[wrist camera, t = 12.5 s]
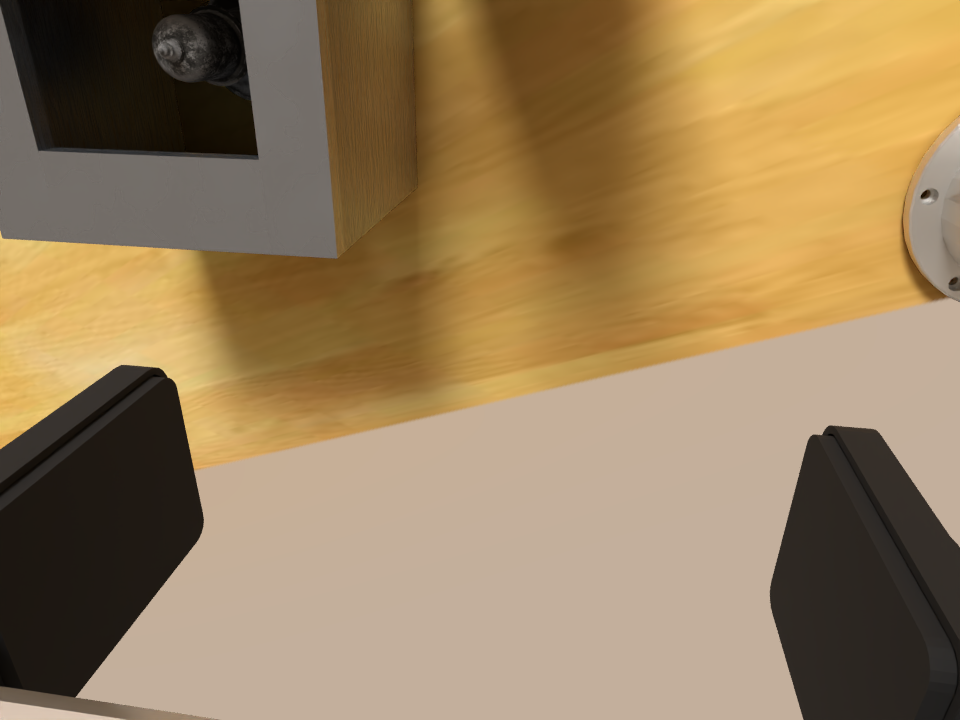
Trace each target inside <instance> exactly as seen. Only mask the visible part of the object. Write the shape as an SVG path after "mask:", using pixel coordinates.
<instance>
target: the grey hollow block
mask: <svg viewBox="0 0 960 720" xmlns="http://www.w3.org/2000/svg"><path fill="white" fill-rule="evenodd" d="M239 6H240V14H241V22H242V30H243V38H244V46H245V54H246V62H247V70H248V78H249V85H250V93H251V101H252V109H253V117H254V125H255V133H256V141H257V149H258V155H237V154H212V153H187V152H186V150H185V144H184V139H183V133H182V127H181V121H180V115H179V109H178V104H177V98H176V92H175V86H174V80H173V77H171V76H170V75H169V74H168V73H167V72H165V71H164V70H163V68H162V67H161V66H160V64H159V63H158V61H157V59H156V57H155V54H154V51H153V47H152V36H153V31H154V29H155V27H156V25H157V24H158V23H159V22H160V21H161V20H162V19H163V16H162V10H161V4H160V0H0V231H1V234H2V238H4V239H21V240H37V241H54V242H70V243H87V244H104V245H120V246H137V247H153V248H170V249H187V250H203V251H220V252H237V253H253V254H270V255H286V256H303V257H320V258H336V259H337V258H339V257H340V256H341V255H342V254H343V253H344V252H345V251H346V250H348V249H349V248H350V247H351V246H352V245H353V244H354V243H355V242H357V241H358V240H359V239H360V238H361V237H362V236H363V235H364V234H366V233H367V232H368V231H369V230H370V229H371V228H372V227H373V226H375V225H376V224H377V223H378V222H379V221H380V220H381V219H382V218H384V217H385V216H386V215H387V214H388V213H389V212H390V211H392V210H393V209H394V208H395V207H396V206H397V205H398V204H399V203H401V202H402V201H403V200H404V199H405V198H406V197H407V196H408V195H410V194H411V193H412V192H413V191H414V190H415V189H416V188H417V156H416V122H415V87H414V52H413V18H412V0H239Z"/></svg>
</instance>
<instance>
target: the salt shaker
mask: <svg viewBox="0 0 960 720" xmlns="http://www.w3.org/2000/svg"><path fill="white" fill-rule="evenodd" d="M152 47H153V51H154V54H155V57H156V59H157V61H158V63H159V64H160V66H161V67H162V68H163V70H164V71H165V72H167V73H168V74H169V75H170V76H171V77H173V78H175V79H177V80H180V81H184V82H188V83H191V82H201V81H206V82H208V83H210V84H213V85H217V86H225V87H226V88H227V89H229V90H230V91H231V92H232V93H234V94H236V95H238V96H239V97H241V98H243V99H246V100H250V101H251V93H250V85H249V78H248V70H247V62H246V54H245V46H244V38H243V30H242V22H241V14H240V6H239V0H210V1H209V3H208V5H206V6H200V7H198V8H196V9H194V10H193V11H191V12H190V13H189V14H174V15H170V16H168V17H165V18H163V19H162V20H161V21H160V22H159V23H158V24H157V25H156V27H155V29H154V31H153V36H152Z"/></svg>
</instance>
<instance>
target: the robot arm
mask: <svg viewBox="0 0 960 720" xmlns="http://www.w3.org/2000/svg"><path fill="white" fill-rule="evenodd" d="M925 190H927V194H926V196H924V197H921V195H922V193H923V192H924V191H925ZM903 226H904V237H905V242H906V245H907V248H908V251H909V254H910V257H911V259H912V260H913V262H914V263H915V265H916V267H917V268H918V270H919V271H920V273H921V274H922V275H923V276H924V277H925V278H926V279H927V280H928V281H929V282H930V283H931V284H932V285H933V286H934V287H936V288H937V289H938V290H940V291H941V292H942V293H944V294H945V295H946V296H948V297H950V298H952V299H954V300H956V301H958V302H960V116H958V117H957V118H956V119H955V120H954V121H953V122H952V123H951V124H950V125H949V126H948V127H947V128H946V129H945V130H944V131H943V132H942V133H941V134H940V135H939V136H938V138H937V139H936V140H935V141H934V143H933V144H932V145H931V147H930V148H929V149H928V151H927V152H926V153H925V155H924V156H923V158H922V160H921V162H920V164H919V166H918V167H917V169H916V171H915V173H914V175H913V177H912V180H911V183H910V186H909V189H908V192H907V195H906V198H905V206H904V214H903ZM953 278H954V280H953V281H952V282H950V280H951V279H953ZM203 523H204V519H203V512H202V507H201V502H200V497H199V493H198V488H197V483H196V478H195V474H194V468H193V463H192V459H191V454H190V449H189V444H188V439H187V434H186V430H185V425H184V420H183V415H182V410H181V405H180V400H179V396H178V391H177V387H176V384H175V382H174V381H173V380H172V379H170V378H167V375H166V374H165V373H164V371H163V370H161V369H160V368H153V367H142V366H130V365H121V366H119V367H116V368H115V369H113V370H112V371H111V372H109V373H108V374H106V375H105V376H104V377H102V378H101V379H99V380H98V381H96V382H95V383H94V384H92V385H91V386H89V387H88V388H87V389H85V390H84V391H82V392H81V393H79V394H78V395H77V396H75V397H74V398H72V399H71V400H70V401H68V402H67V403H65V404H64V405H63V406H61V407H60V408H58V409H57V410H55V411H54V412H53V413H51V414H50V415H48V416H47V417H46V418H44V419H43V420H41V421H40V422H38V423H37V424H36V425H34V426H33V427H31V428H30V429H29V430H27V431H26V432H24V433H23V434H22V435H20V436H19V437H17V438H16V439H14V440H13V441H12V442H10V443H9V444H7V445H6V446H5V447H3V448H2V449H0V720H217V719H211V718H205V717H199V716H192V715H186V714H179V713H173V712H166V711H160V710H153V709H146V708H140V707H134V706H127V705H120V704H114V703H107V702H100V701H94V700H88V699H81V698H75V697H76V696H77V695H78V693H79V692H80V691H81V689H82V688H83V687H84V686H85V684H86V683H87V682H88V681H89V679H90V678H91V677H92V675H93V674H94V673H95V672H96V670H97V669H98V668H99V666H100V665H101V664H102V662H103V661H104V660H105V659H106V657H107V656H108V655H109V654H110V652H111V651H112V650H113V649H114V647H115V646H116V645H117V643H118V642H119V641H120V640H121V638H122V637H123V636H124V634H125V633H126V632H127V631H128V629H129V628H130V627H131V625H132V624H133V623H134V622H135V620H136V619H137V618H138V616H139V615H140V614H141V612H142V611H143V610H144V609H145V608H146V606H147V605H148V604H149V602H150V601H151V600H152V599H153V597H154V596H155V595H156V593H157V592H158V591H159V590H160V588H161V587H162V586H163V585H164V583H165V582H166V581H167V579H168V578H169V577H170V576H171V574H172V573H173V572H174V570H175V569H176V568H177V567H178V565H179V564H180V563H181V561H182V560H183V559H184V557H185V556H186V555H187V554H188V553H189V551H190V550H191V549H192V547H193V546H194V545H195V544H196V542H197V541H198V539H199V537H200V535H201V533H202V529H203ZM770 603H771V609H772V613H773V617H774V620H775V623H776V627H777V630H778V634H779V637H780V641H781V644H782V648H783V651H784V654H785V658H786V661H787V665H788V668H789V672H790V675H791V678H792V682H793V685H794V689H795V692H796V695H797V699H798V702H799V706H800V709H801V712H802V716H803V719H804V720H960V547H959V546H958V544H957V543H956V542H955V541H954V540H953V539H952V538H951V537H950V536H949V534H948V533H947V531H946V530H945V528H944V527H943V526H942V524H941V523H940V521H939V520H938V518H937V517H936V515H935V514H934V513H933V511H932V509H931V508H930V507H929V505H928V504H927V502H926V501H925V499H924V498H923V496H922V495H921V493H920V492H919V490H918V489H917V487H916V486H915V485H914V483H913V482H912V480H911V479H910V477H909V476H908V474H907V473H906V471H905V470H904V469H903V467H902V465H901V464H900V463H899V461H898V460H897V458H896V457H895V455H894V454H893V452H892V451H891V449H890V448H889V446H888V445H887V444H886V442H885V441H884V439H883V438H882V436H881V435H880V433H878V431H876V430H874V429H866V428H854V427H853V428H852V427H842V426H828V427H827V428H826V429H825V431H824V432H823V434H822V435H812V436H811V437H810V438H809V440H808V443H807V446H806V450H805V454H804V458H803V462H802V466H801V470H800V473H799V477H798V481H797V485H796V489H795V493H794V497H793V500H792V504H791V508H790V512H789V516H788V520H787V523H786V527H785V531H784V535H783V539H782V543H781V547H780V551H779V554H778V558H777V562H776V566H775V570H774V574H773V578H772V582H771V587H770Z"/></svg>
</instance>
